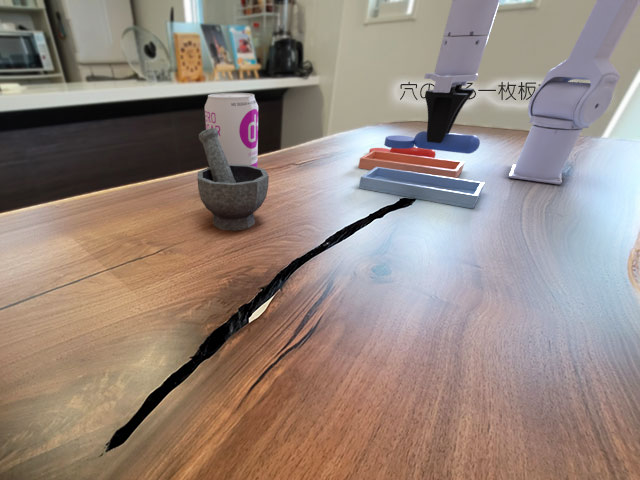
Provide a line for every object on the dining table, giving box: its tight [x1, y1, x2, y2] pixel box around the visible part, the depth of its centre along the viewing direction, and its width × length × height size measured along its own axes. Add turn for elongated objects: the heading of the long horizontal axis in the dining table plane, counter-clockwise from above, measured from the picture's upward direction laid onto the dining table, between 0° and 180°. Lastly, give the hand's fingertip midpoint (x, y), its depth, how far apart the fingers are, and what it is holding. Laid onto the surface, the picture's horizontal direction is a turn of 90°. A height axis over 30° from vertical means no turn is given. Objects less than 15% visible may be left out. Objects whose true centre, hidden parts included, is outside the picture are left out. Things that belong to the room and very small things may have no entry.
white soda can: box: [204, 92, 259, 168], centre depth 58 cm, size 8×8×15 cm
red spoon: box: [368, 146, 437, 158], centre depth 81 cm, size 14×5×3 cm, turn 54°
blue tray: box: [358, 167, 485, 209], centre depth 62 cm, size 8×18×2 cm, turn 54°
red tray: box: [357, 151, 465, 179], centre depth 73 cm, size 8×18×2 cm, turn 54°
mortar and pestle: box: [197, 128, 270, 232], centre depth 49 cm, size 11×9×12 cm
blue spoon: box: [383, 130, 481, 155], centre depth 59 cm, size 14×5×3 cm, turn 54°
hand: (436, 140), depth 58 cm, fingers closed on blue spoon, 2 cm apart
